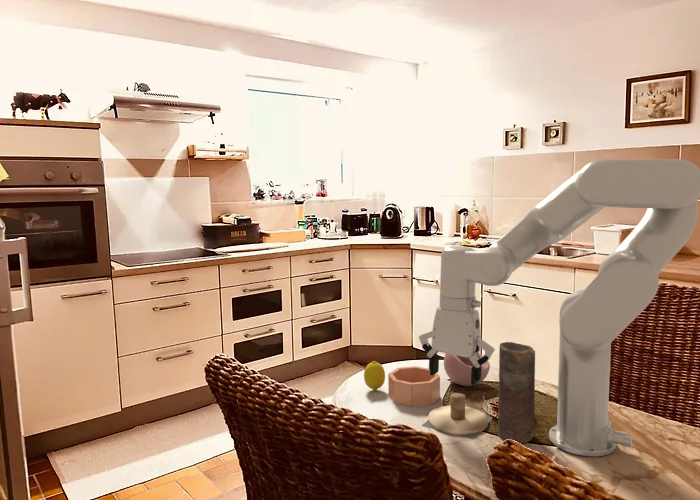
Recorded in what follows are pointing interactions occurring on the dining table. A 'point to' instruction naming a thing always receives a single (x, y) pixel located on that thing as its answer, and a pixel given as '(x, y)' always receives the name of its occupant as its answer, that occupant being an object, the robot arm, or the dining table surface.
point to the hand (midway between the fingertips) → (454, 378)
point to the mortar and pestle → (462, 369)
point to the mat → (459, 435)
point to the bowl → (413, 386)
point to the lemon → (374, 375)
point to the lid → (458, 417)
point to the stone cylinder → (516, 392)
